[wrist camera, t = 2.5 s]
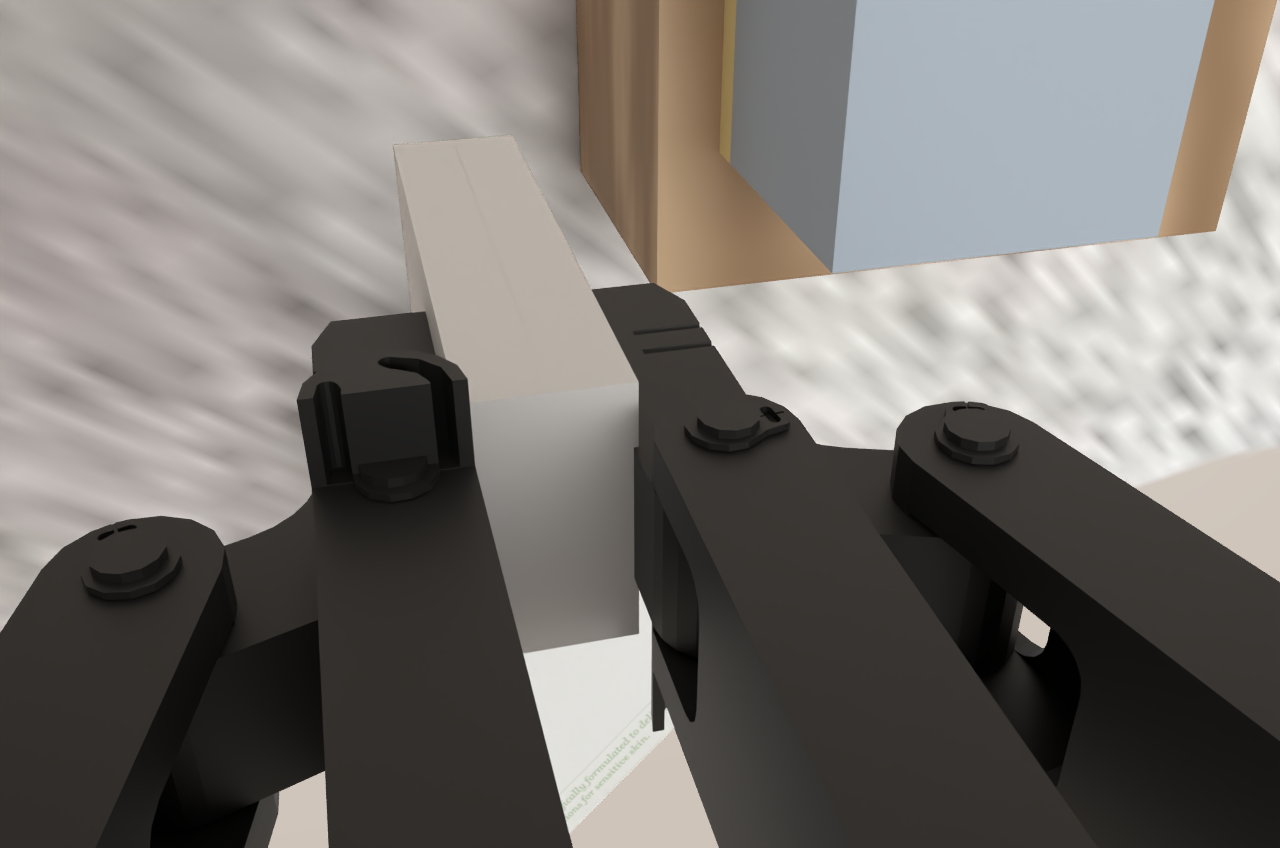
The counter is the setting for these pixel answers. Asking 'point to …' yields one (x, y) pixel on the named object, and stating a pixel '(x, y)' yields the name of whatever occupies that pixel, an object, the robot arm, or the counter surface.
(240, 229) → the counter surface
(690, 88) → the oak plinth
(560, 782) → the skincare box
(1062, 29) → the slate-blue block
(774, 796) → the robot arm
